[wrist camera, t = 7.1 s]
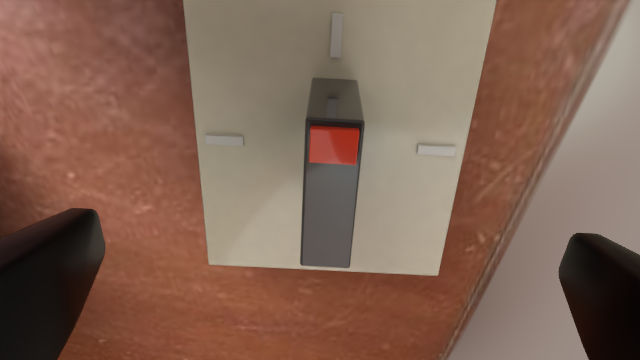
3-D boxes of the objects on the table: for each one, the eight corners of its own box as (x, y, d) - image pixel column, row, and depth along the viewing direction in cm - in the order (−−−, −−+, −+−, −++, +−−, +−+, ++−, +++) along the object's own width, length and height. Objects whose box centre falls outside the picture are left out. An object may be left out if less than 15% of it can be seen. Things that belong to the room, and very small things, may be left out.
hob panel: (223, 226, 22) (207, 267, 19) (203, -46, 16) (176, -43, 14) (425, 236, 22) (439, 279, 19) (476, -34, 16) (505, -28, 14)
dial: (346, 203, 18) (350, 274, 14) (306, 201, 18) (299, 271, 14) (358, 79, 15) (366, 124, 12) (311, 76, 15) (304, 121, 12)
